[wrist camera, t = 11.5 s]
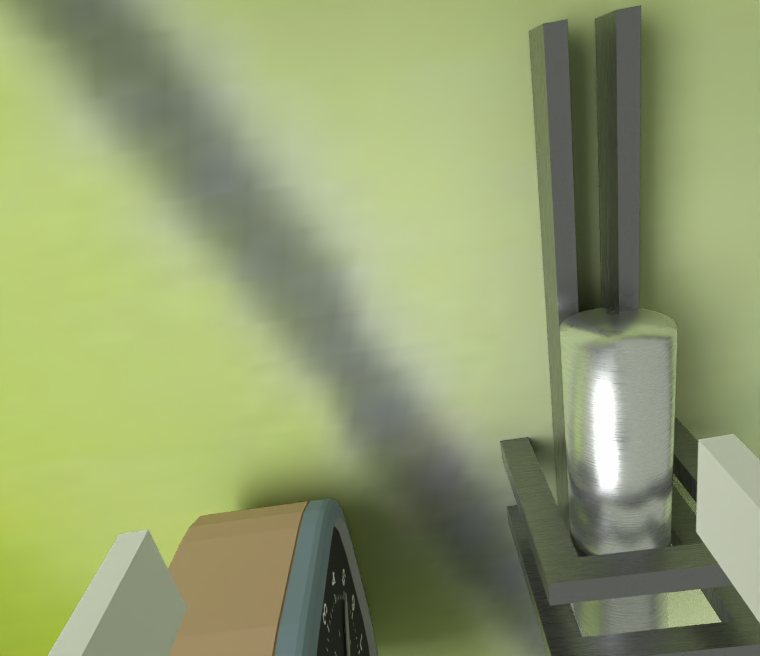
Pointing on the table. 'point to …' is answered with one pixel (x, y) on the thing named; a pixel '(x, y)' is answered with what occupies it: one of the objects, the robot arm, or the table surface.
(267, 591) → the alarm clock
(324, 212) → the table surface
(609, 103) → the gray metal rack
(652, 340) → the tube
